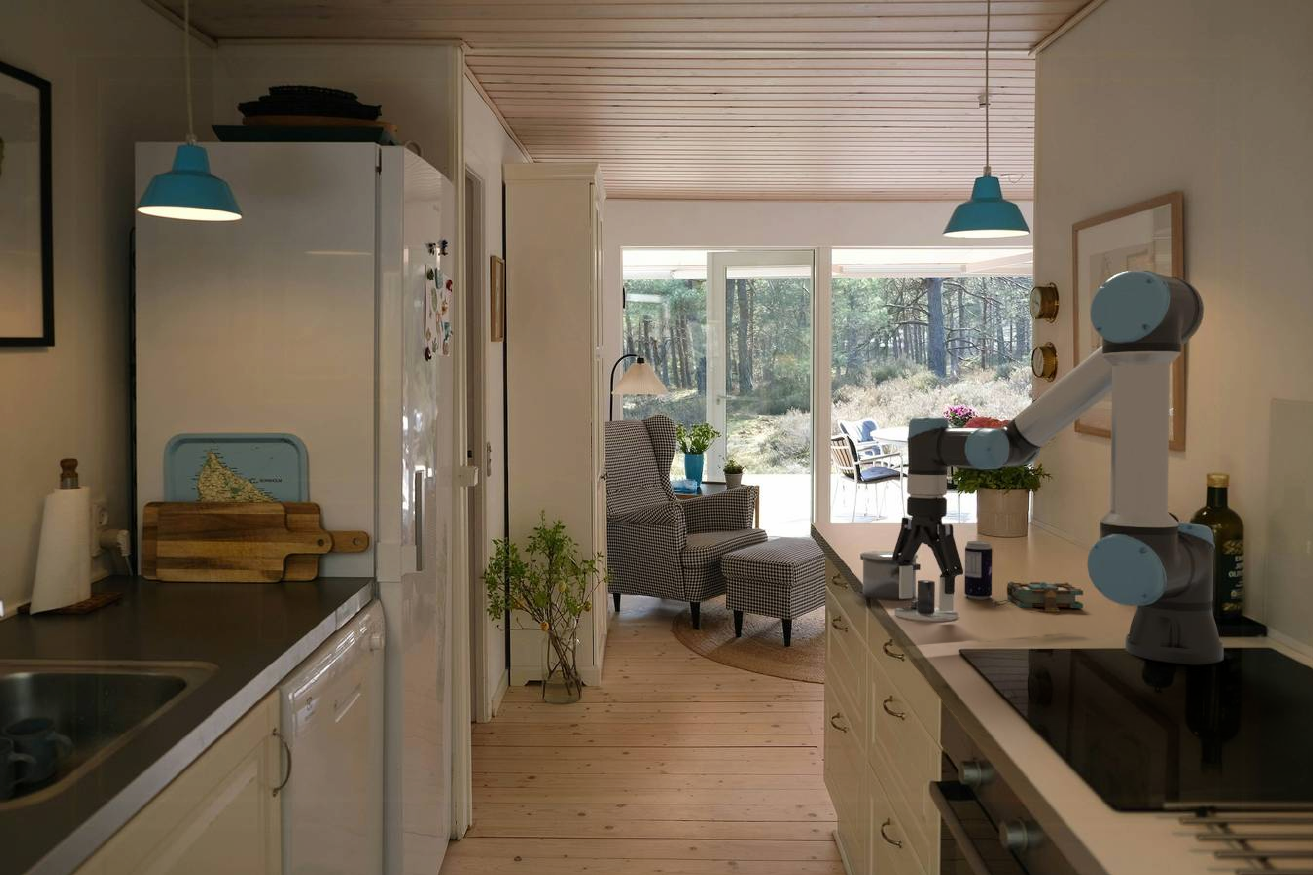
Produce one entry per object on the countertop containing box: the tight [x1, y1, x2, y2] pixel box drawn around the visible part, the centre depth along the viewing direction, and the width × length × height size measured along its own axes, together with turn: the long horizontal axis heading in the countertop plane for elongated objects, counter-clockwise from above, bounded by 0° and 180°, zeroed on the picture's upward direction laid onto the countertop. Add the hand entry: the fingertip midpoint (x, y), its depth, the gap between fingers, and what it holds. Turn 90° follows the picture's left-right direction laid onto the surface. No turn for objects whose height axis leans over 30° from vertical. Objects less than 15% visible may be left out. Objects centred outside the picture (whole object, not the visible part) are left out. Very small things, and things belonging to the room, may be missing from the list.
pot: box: [859, 550, 922, 602], centre depth 221 cm, size 12×17×9 cm
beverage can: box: [963, 540, 994, 601], centre depth 219 cm, size 6×6×12 cm
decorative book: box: [990, 581, 1084, 613], centre depth 213 cm, size 13×18×5 cm
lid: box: [893, 579, 959, 623], centre depth 199 cm, size 12×12×7 cm
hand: (925, 604), depth 200 cm, fingers open, 13 cm apart
